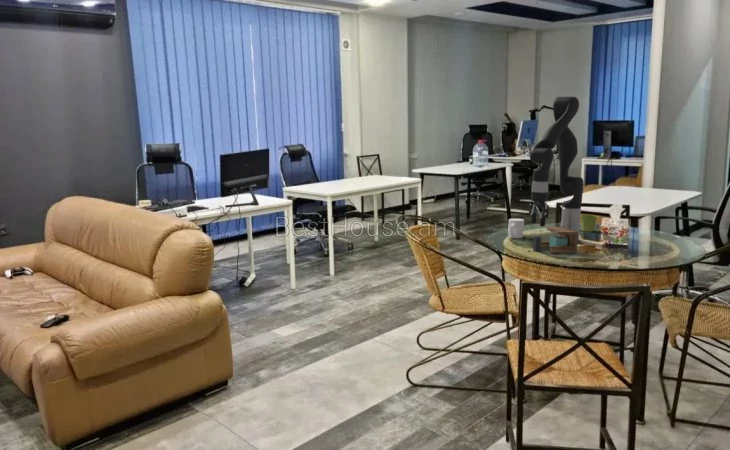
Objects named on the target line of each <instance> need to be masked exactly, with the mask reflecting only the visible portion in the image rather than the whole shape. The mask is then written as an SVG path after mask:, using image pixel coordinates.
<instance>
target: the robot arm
mask: <svg viewBox="0 0 730 450" xmlns="http://www.w3.org/2000/svg"><path fill="white" fill-rule="evenodd" d="M579 108H580V102H579V99H578V98H577V97H576V96H556V97H555V98H554V99H553V104H552V111H553V112H552V113H553V118H554V122H553V123H552V124H551V125H549V126H548V128H547V129H546V130H545V132H544V134H543V136H542V137H541V140H540V141H538V142H537V143H536V145H534V147H533V148H532V149H531V150H530V153H529V159H530V161H531V163H533V164H541V166H540V167H537V168H534V169H533V172H532V181H531V182H532V183H531V190H530V191H531V192H530V193H531V195H530V200H531V201H529V208H528V209H529V210H528V213H529V214H530V216H531V219H530V220H531V221H530V223H531V224H536V223H537V214H538V215H539V217H540V219H539V227H545V226H546V219H548V218H549V216H550V215H549V213H550V212H549V211H550V207H549V206H550V205H549V204H546V202H547V201H549V173H550V169H551V166H552V163H553V161H554V157H555V156H554V155H555V154H554V151H553V150H554V148H555V147H556V145H557V153H558V161H559V189H560V192H561V194H564V195H572V197H571V199H568V200H563V202H562V205H561V220H560V225H559V227H566V228H569V229H572V230H575V231H578V237H577V242H579V241H580V232H581V231H580V230H581V229H580V227H581V217H580V215H582V214H581V212H582V211H581V210H582V204H583V194H584V187H585V186H584V185H585V184H584V183H585V182H584V179H583V178H582V177H580V176H571V175H570V176H569V170H570V167H571V165H572V163H573V162H574V160H575V159H576V157H577V155H578V153H579V151H578V140H577V137H576V135H575V134H574V133H573V132H572V130H571V128H570V127H569V126H568V125H569V124H570V123H571V122H572V121H573V119H574V117H575V116H576V115H577V113H578V111H579Z"/></svg>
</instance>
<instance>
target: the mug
mask: <svg viewBox="0 0 730 450" xmlns="http://www.w3.org/2000/svg"><path fill="white" fill-rule="evenodd" d="M507 227H508V228H507V229H508V230H507V237H508V238H511V239H522V238H523V237H524V227H525V219H523V218H509V219H508V225H507Z"/></svg>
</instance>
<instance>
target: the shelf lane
mask: <svg viewBox="0 0 730 450" xmlns="http://www.w3.org/2000/svg"><path fill="white" fill-rule="evenodd" d="M546 231H549V232H552V233H554V234H557V235H559V236H562V237H564V238H567V239H568V244H567V246H550V250H549V253H550V254H566V253H577V252H578V241H577V237H578V231H575V230H572V229H569V228H566V227H560V226H553V227H550V226H549V227H546ZM549 243H550V240H547V241H541V246H540V249H549Z"/></svg>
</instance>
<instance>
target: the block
mask: <svg viewBox="0 0 730 450" xmlns="http://www.w3.org/2000/svg"><path fill="white" fill-rule="evenodd" d="M541 240H542V237H541V236H540V235H538V236H537V235H535V236H533V248H532V251H533V252H543V251H550V246H567V244H568V239H567V238H564V237H562V236H560V235H559V236H550V237H549V241H550V243H549V248H540V246H541V242H542V241H541Z"/></svg>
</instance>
